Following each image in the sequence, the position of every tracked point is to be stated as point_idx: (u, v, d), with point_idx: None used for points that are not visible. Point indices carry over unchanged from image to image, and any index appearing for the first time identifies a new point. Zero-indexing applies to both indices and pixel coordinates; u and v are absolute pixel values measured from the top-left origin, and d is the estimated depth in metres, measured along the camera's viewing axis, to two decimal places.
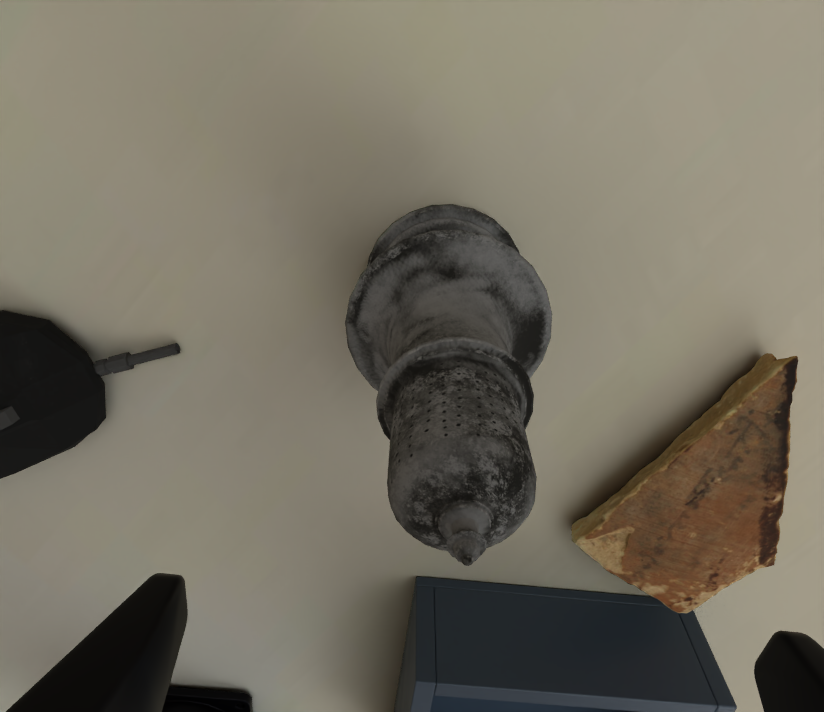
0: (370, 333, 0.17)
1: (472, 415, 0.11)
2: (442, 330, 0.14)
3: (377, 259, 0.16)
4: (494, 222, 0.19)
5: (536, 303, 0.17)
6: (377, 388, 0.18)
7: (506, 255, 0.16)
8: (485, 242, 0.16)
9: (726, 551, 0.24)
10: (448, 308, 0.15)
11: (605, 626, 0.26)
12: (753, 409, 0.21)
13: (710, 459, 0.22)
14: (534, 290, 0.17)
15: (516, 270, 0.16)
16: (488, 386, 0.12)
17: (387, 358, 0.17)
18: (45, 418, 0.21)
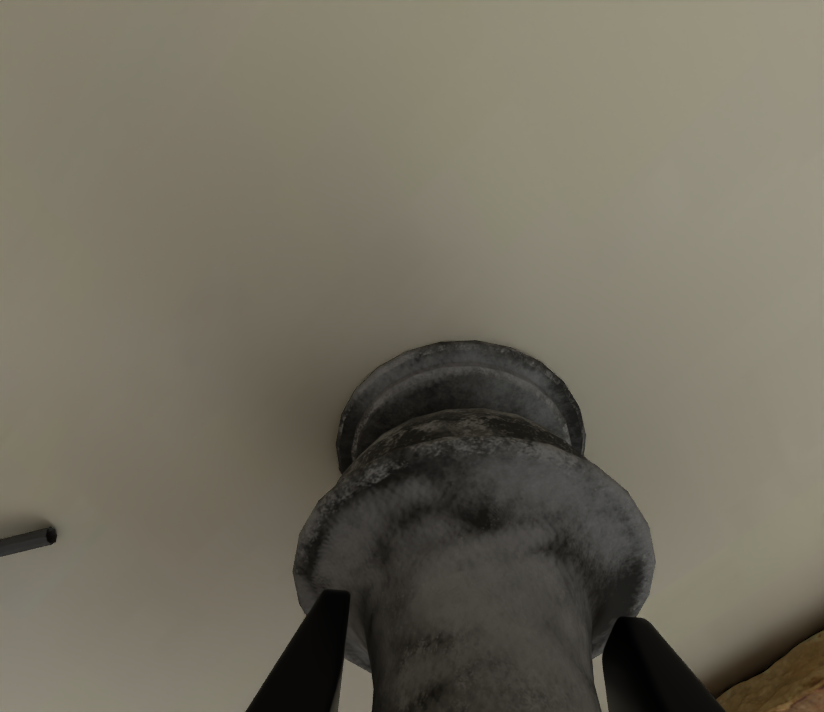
0: None
1: None
2: (472, 695, 0.07)
3: (346, 482, 0.09)
4: (543, 368, 0.12)
5: (631, 550, 0.09)
6: (351, 660, 0.11)
7: (583, 479, 0.09)
8: (545, 459, 0.09)
9: None
10: (480, 612, 0.08)
11: None
12: None
13: None
14: (628, 531, 0.09)
15: (599, 503, 0.09)
16: None
17: (365, 642, 0.10)
18: None
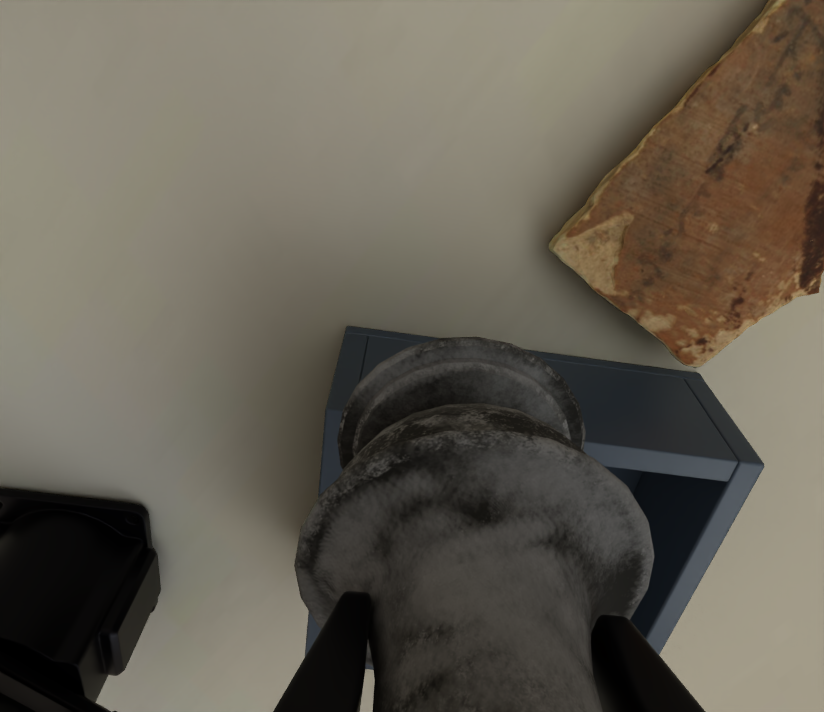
0: (337, 590, 0.10)
1: None
2: (472, 686, 0.07)
3: (348, 476, 0.09)
4: (543, 364, 0.12)
5: (630, 544, 0.10)
6: None
7: (582, 473, 0.09)
8: (545, 453, 0.09)
9: (756, 259, 0.18)
10: (480, 603, 0.08)
11: (590, 384, 0.20)
12: None
13: (745, 89, 0.16)
14: (627, 525, 0.09)
15: (599, 497, 0.09)
16: None
17: None
18: None
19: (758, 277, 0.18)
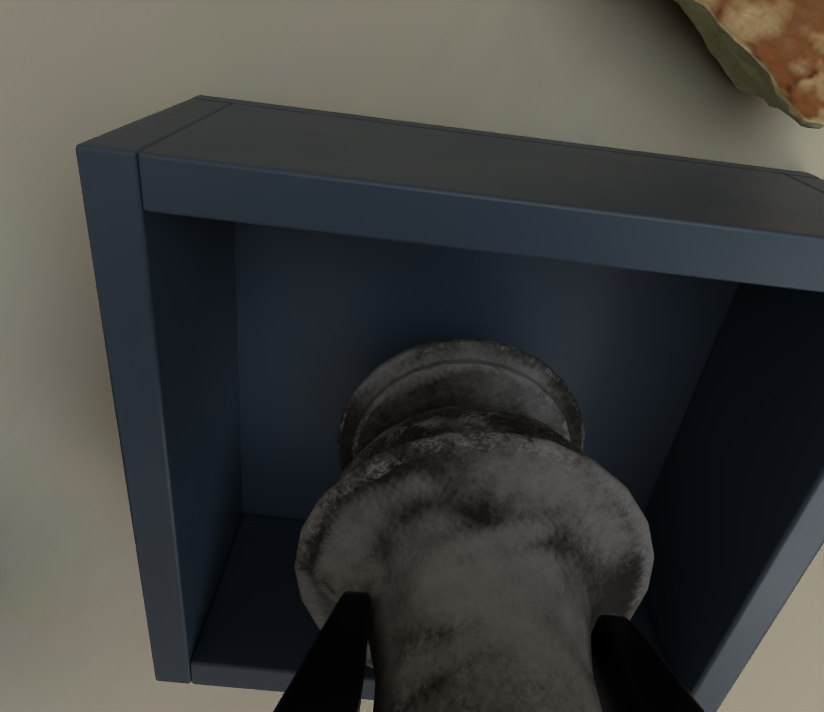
0: (337, 591, 0.10)
1: None
2: (473, 688, 0.07)
3: (348, 478, 0.09)
4: (542, 365, 0.12)
5: (630, 546, 0.10)
6: None
7: (582, 475, 0.09)
8: (545, 455, 0.09)
9: None
10: (480, 605, 0.08)
11: (626, 166, 0.11)
12: None
13: None
14: (627, 527, 0.09)
15: (599, 498, 0.09)
16: None
17: None
18: None
19: None
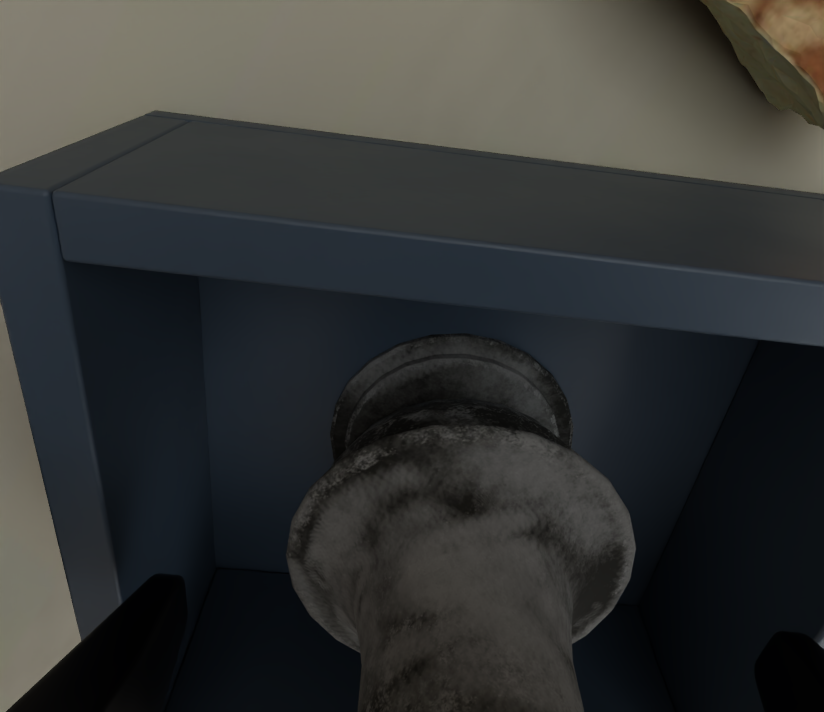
0: (327, 579, 0.10)
1: None
2: (453, 670, 0.07)
3: (337, 469, 0.09)
4: (531, 360, 0.12)
5: (612, 536, 0.10)
6: (343, 641, 0.11)
7: (564, 467, 0.09)
8: (528, 447, 0.09)
9: None
10: (462, 592, 0.08)
11: (645, 194, 0.09)
12: None
13: None
14: (609, 518, 0.10)
15: (581, 489, 0.09)
16: None
17: (356, 623, 0.10)
18: None
19: None
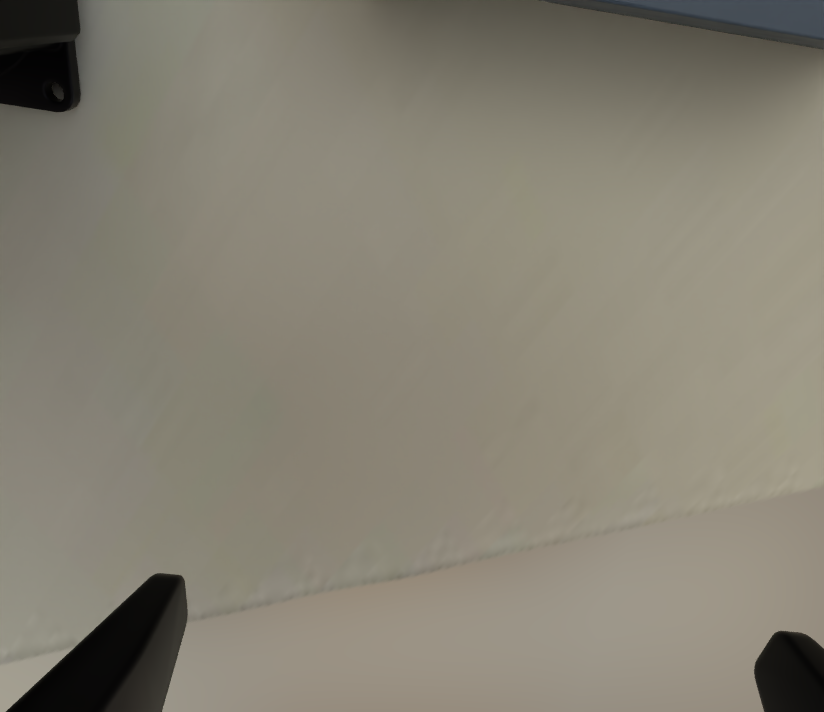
0: None
1: None
2: None
3: None
4: None
5: None
6: None
7: None
8: None
9: None
10: None
11: None
12: None
13: None
14: None
15: None
16: None
17: None
18: None
19: None
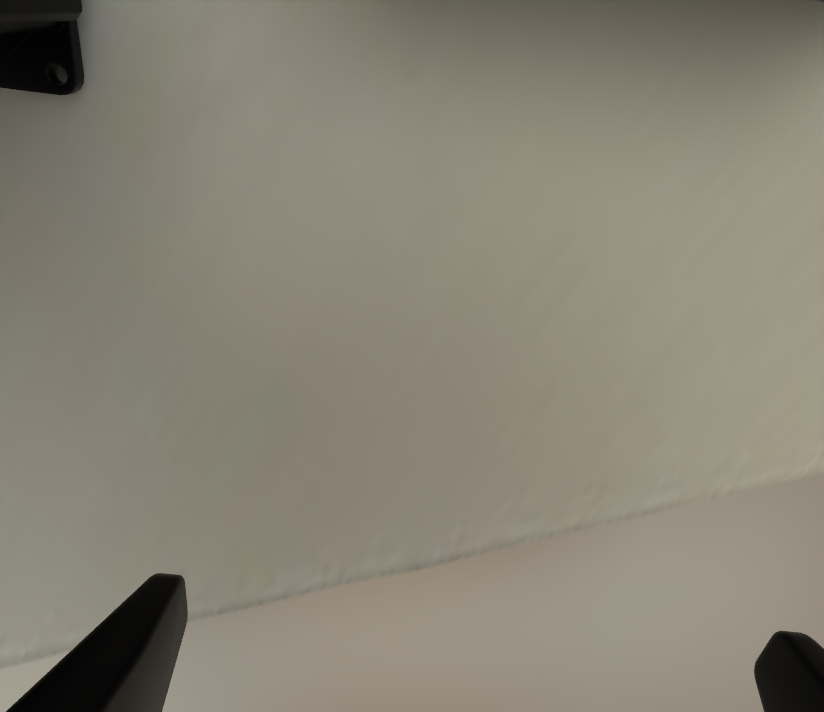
0: None
1: None
2: None
3: None
4: None
5: None
6: None
7: None
8: None
9: None
10: None
11: None
12: None
13: None
14: None
15: None
16: None
17: None
18: None
19: None
